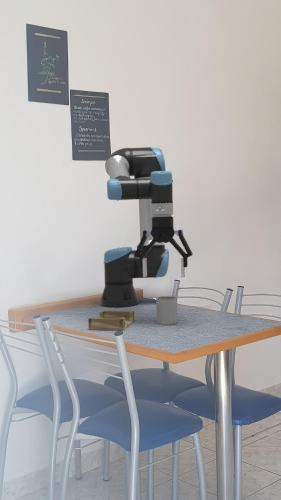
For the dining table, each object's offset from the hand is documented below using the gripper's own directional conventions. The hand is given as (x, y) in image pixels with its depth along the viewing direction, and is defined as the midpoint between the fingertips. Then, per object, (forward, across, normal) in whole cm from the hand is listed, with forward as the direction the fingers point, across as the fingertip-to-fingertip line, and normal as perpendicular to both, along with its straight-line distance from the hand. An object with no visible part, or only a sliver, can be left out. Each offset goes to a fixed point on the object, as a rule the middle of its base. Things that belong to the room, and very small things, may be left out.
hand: (163, 276), depth 226 cm
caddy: (+16, -17, -8) cm, 25 cm away
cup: (+16, 0, 0) cm, 16 cm away
